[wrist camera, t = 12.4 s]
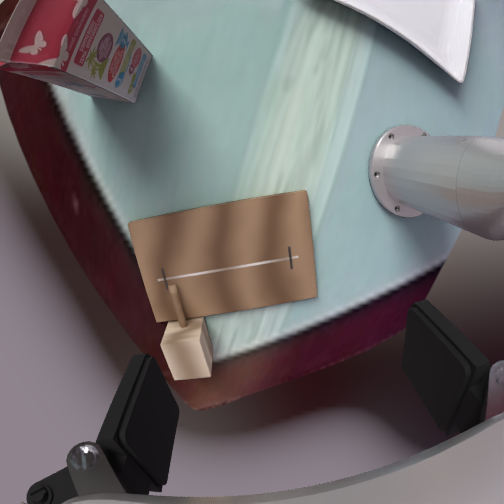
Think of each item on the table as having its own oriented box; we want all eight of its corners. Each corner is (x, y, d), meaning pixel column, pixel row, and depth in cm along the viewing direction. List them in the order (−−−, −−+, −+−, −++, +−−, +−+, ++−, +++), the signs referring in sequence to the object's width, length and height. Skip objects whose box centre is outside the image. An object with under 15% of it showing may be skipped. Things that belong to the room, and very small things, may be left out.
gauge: (193, 275, 38) (186, 296, 32) (213, 349, 42) (210, 376, 36) (157, 281, 38) (145, 302, 32) (180, 353, 42) (174, 380, 36)
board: (304, 190, 35) (307, 191, 34) (315, 292, 40) (317, 296, 39) (130, 221, 35) (127, 223, 34) (158, 317, 40) (156, 322, 39)
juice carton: (91, 96, 30) (-31, 62, 9) (108, 50, 28) (7, -18, 7) (134, 103, 31) (24, 56, 10) (152, 55, 29) (71, -34, 8)
